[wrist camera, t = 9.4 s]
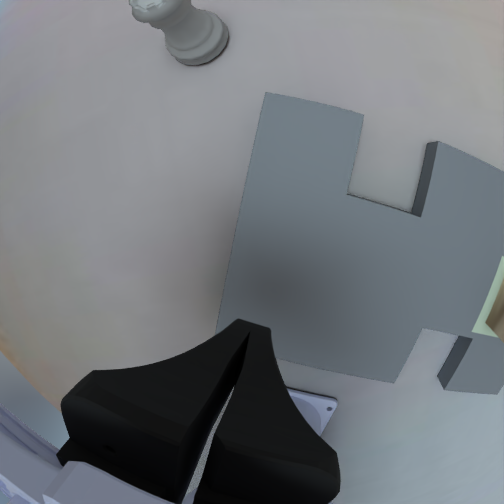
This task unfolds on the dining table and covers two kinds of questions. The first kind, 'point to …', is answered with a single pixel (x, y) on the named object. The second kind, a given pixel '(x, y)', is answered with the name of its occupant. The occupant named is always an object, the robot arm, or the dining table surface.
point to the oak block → (497, 314)
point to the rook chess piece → (184, 28)
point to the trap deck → (365, 253)
